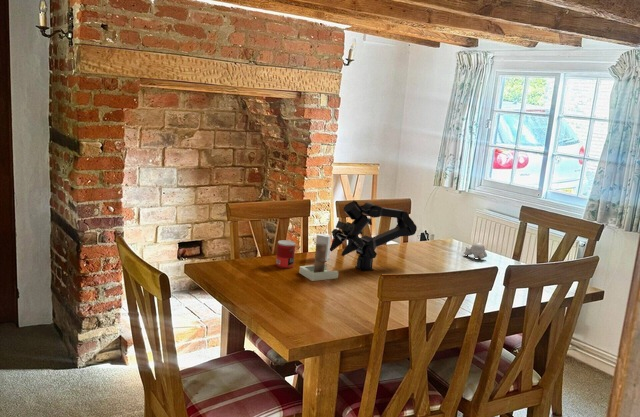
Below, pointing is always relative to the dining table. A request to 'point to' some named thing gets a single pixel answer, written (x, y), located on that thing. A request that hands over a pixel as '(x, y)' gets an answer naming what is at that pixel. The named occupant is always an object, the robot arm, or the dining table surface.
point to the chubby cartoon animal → (476, 250)
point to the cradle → (317, 273)
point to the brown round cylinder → (320, 257)
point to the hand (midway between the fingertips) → (336, 253)
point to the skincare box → (324, 240)
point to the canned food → (285, 254)
